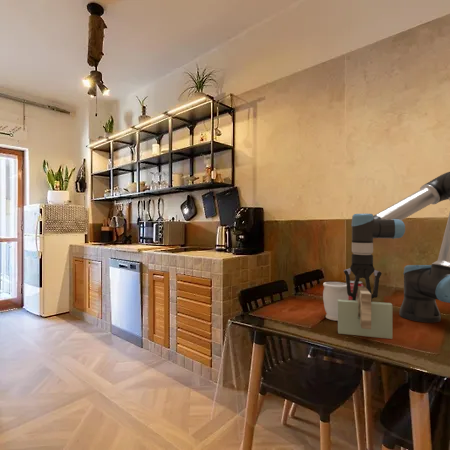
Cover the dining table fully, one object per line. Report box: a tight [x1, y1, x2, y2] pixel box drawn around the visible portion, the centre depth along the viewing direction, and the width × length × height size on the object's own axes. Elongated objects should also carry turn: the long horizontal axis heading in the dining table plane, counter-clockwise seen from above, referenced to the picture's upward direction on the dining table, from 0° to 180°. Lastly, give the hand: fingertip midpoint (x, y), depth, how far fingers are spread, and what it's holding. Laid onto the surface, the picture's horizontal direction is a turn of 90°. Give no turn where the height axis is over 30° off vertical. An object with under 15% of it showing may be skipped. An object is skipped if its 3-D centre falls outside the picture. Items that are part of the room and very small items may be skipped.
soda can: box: [348, 280, 365, 300], centre depth 146 cm, size 7×7×13 cm
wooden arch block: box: [357, 286, 372, 329], centre depth 111 cm, size 14×3×12 cm, turn 162°
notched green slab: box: [337, 299, 393, 340], centre depth 111 cm, size 18×3×12 cm, turn 72°
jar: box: [322, 281, 349, 322], centre depth 131 cm, size 11×10×15 cm
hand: (361, 314), depth 116 cm, fingers closed on wooden arch block, 3 cm apart
